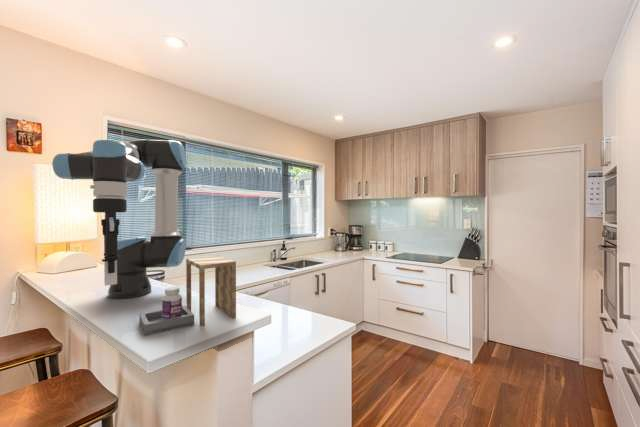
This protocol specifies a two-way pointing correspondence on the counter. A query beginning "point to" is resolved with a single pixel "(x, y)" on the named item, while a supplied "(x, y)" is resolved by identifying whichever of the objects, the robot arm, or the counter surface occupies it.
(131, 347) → the counter surface
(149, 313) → the tray
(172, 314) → the pill bottle
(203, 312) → the counter shelf
